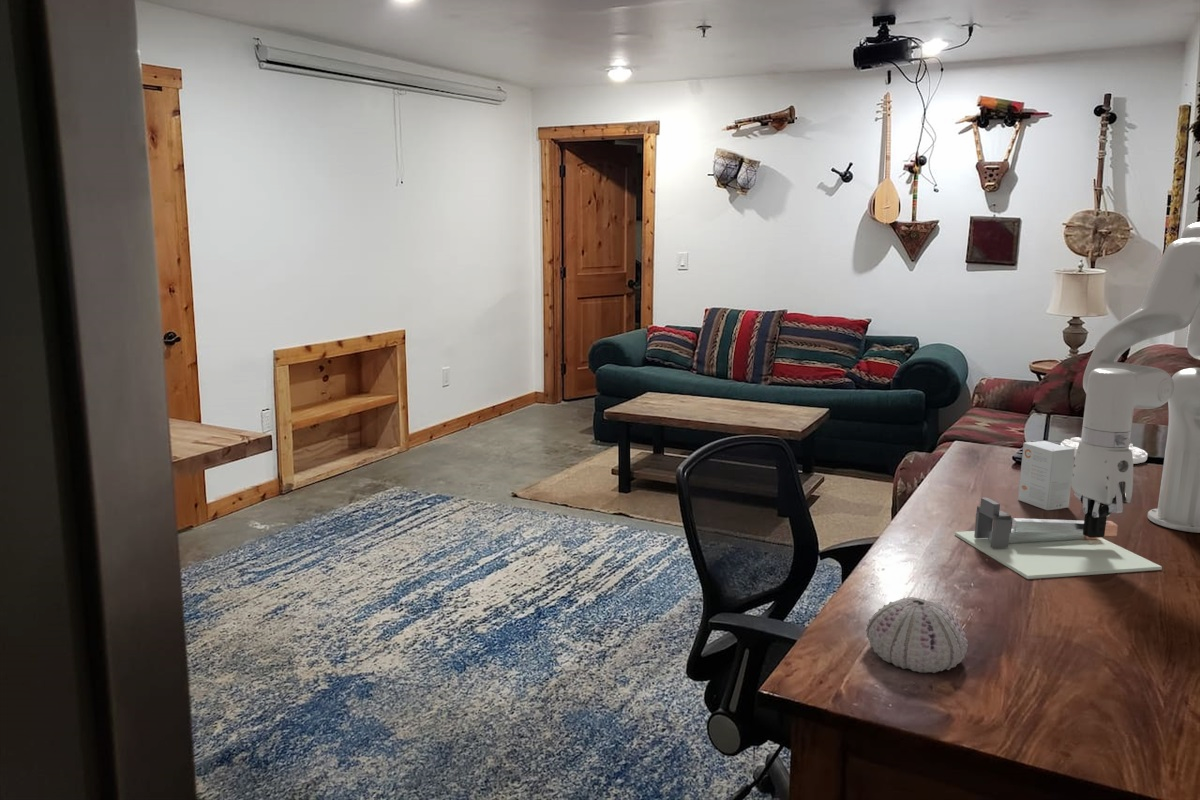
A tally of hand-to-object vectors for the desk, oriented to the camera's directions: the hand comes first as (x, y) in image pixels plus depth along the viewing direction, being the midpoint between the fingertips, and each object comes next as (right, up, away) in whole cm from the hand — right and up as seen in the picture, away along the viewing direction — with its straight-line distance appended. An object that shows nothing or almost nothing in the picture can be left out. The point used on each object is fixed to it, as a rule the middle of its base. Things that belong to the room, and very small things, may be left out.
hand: (1093, 535), depth 161 cm
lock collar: (-17, -3, +4) cm, 18 cm away
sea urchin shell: (-46, -11, -38) cm, 61 cm away
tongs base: (-6, -2, +6) cm, 9 cm away
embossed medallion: (+42, +10, +71) cm, 83 cm away
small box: (+6, +2, +30) cm, 31 cm away
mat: (-6, -3, +2) cm, 7 cm away
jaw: (-4, 0, +3) cm, 5 cm away
